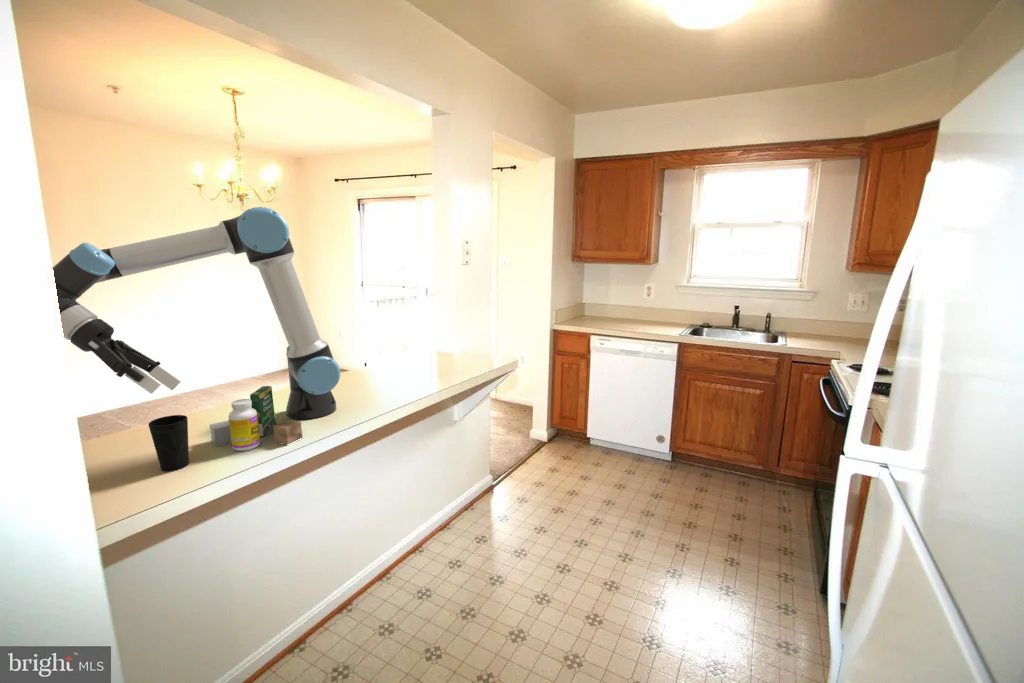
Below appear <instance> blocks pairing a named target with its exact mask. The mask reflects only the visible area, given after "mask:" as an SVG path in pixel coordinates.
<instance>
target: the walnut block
mask: <svg viewBox="0 0 1024 683" xmlns="http://www.w3.org/2000/svg"><path fill="white" fill-rule="evenodd" d="M272 431H273V440H274V443H275V442H276V443H275V444H279V443H283V444H282V445H284V444H290V443H292V442H294V441H296V440H298V439H300V438H302V439H303V431H302V421H297V420H290V419H287V420H284V421H281V422H279V423H276V425H274V426H273V430H272ZM298 441H299V440H298ZM296 442H297V441H296ZM294 443H295V442H294ZM292 444H293V443H292ZM290 445H291V444H290Z"/></svg>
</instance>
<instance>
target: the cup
mask: <svg viewBox="0 0 1024 683" xmlns="http://www.w3.org/2000/svg"><path fill="white" fill-rule="evenodd" d="M188 422H189V421H188V416H187V415H183V414H174V415H166V416H161V417H158V418H155V419H153V420H151V421H150V422H149V423H148V424H147V425H148V428H149V432H150V434H151V439H152V442H153V445H154V450H155V452H156V456H157V461H158V463H159V466H160V469H161V471H162V472H166V473H167V472H168V473H170V472H175V470H176V471H179V470H178V469H180V470H182V469H184V468H183V467H185V466H186V467H188V466H189V465H188V464H190V457H189V456H190V455H189V423H188ZM187 465H188V466H187ZM186 467H185V468H186ZM181 468H182V469H181Z"/></svg>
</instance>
